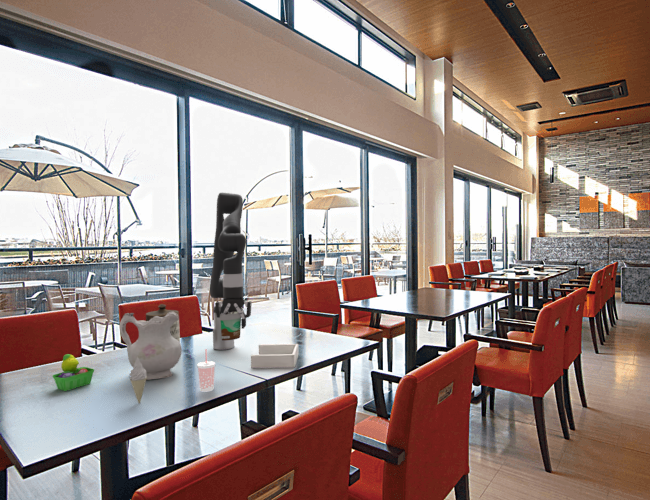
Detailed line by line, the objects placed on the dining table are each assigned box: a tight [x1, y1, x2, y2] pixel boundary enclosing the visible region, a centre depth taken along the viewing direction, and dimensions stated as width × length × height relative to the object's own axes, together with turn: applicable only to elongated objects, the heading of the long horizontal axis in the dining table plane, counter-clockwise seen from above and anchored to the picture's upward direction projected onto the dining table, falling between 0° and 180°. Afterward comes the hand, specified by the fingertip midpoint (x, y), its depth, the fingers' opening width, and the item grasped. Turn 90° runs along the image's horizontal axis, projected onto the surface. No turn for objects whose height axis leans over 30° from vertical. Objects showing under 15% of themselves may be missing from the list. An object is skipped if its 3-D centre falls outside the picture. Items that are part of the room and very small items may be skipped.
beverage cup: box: [197, 348, 216, 393], centre depth 146 cm, size 6×6×14 cm
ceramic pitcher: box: [119, 312, 183, 381], centre depth 162 cm, size 22×20×25 cm
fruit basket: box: [52, 353, 95, 392], centre depth 152 cm, size 11×9×11 cm
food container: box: [220, 311, 242, 341], centre depth 163 cm, size 12×6×10 cm, turn 168°
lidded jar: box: [145, 303, 181, 343], centre depth 199 cm, size 15×15×22 cm
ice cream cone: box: [129, 357, 147, 404], centre depth 134 cm, size 5×5×15 cm
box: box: [250, 343, 300, 369], centre depth 178 cm, size 18×18×5 cm
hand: (234, 328), depth 163 cm, fingers closed on food container, 6 cm apart
